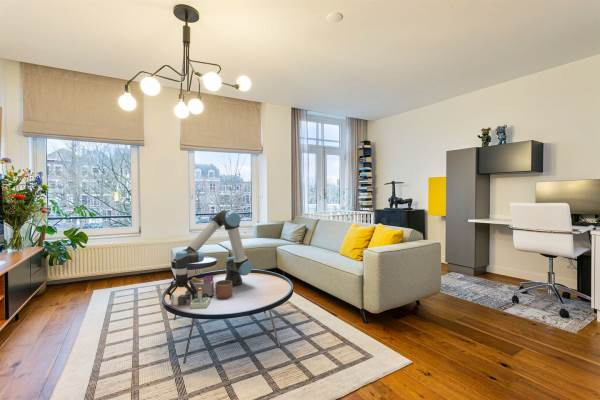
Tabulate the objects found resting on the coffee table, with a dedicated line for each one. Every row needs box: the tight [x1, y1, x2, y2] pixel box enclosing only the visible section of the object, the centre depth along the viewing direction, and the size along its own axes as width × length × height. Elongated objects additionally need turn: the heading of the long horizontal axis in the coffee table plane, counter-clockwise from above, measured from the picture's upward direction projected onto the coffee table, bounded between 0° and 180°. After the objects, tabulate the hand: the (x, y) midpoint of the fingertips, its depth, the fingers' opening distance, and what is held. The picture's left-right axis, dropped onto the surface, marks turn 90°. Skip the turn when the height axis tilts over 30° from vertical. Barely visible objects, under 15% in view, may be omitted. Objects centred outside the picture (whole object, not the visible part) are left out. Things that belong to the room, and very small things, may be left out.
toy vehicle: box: [184, 275, 215, 300], centre depth 215 cm, size 9×20×15 cm, turn 95°
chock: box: [177, 294, 187, 306], centre depth 201 cm, size 4×5×6 cm
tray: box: [189, 296, 211, 309], centre depth 199 cm, size 11×11×4 cm
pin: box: [197, 287, 203, 303], centre depth 198 cm, size 4×4×12 cm
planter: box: [214, 279, 233, 300], centre depth 215 cm, size 12×12×11 cm
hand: (182, 304), depth 201 cm, fingers open, 13 cm apart
